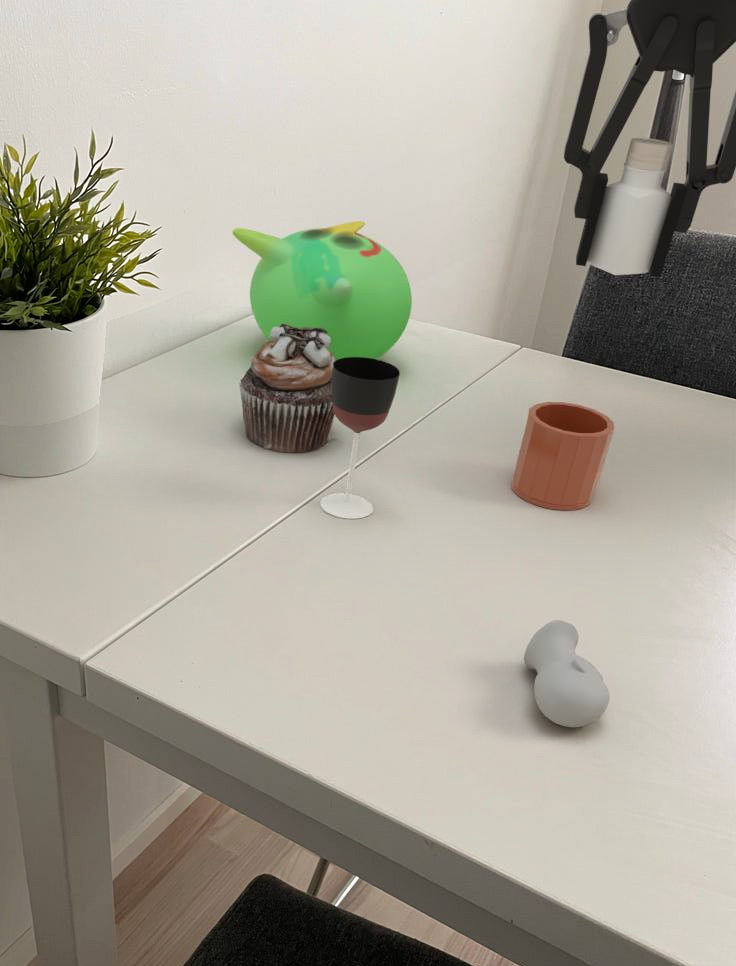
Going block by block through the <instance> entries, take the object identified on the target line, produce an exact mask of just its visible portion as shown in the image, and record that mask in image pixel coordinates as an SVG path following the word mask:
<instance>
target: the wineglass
mask: <svg viewBox="0 0 736 966" xmlns="http://www.w3.org/2000/svg"><path fill="white" fill-rule="evenodd" d="M400 375H401V371H400V369H399V368H398V367H397V366H395V365H393V364H392V363H389V362H387V361H384V360H380V359H378V358H377V359H371V358H364V357H347V358H341V359H338V360H336V361H335V362H334V363H333V372H332V402H333V410H334V414H335V415H334V417H335V418H336V419H337V420H338V421H339V422H340V423H341V424H342V425H343V426H345V427H347V428H349V430H351V431H353V438H352V439H353V441H352V445H351V453H350V460H349V467H348V474H347V480H346V488H345V493H343V492H342V493H341V492H340V493H339V492H338V493H337V492H335V493H330V494H327V495H325V496H323V497H322V498H321V499H320V502H319V505H320V508H321V509H322V510H323V511H324V512H325V513H327V514H329V515H331V516H334V517H337V518H341V519H347V520H348V519H350V520H352V519H353V520H354V519H356V520H357V519H361V518H366V517H368V516H369V515H371V514H372V513H373V512H374V511H373V510H374V506H373V505H372V503H371V502H370V501H368V499H366V498H364V497H362V496H359V495H356V494H352V490H353V482H354V476H355V469H356V463H357V455H358V449H359V443H360V442H359V441H360V437H361V436H360V435H361V433H362V432H365V431H371V430H373V429H375V428H378V427H379V426H381V425H382V424H383V423H384V422H385V421H386V419H387V417H388V415H389V412H390V410H391V408H392V405H393V402H394V399H395V395H396V392H397V387H398V384H399V379H400Z"/></svg>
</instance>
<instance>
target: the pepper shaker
mask: <svg viewBox="0 0 736 966" xmlns="http://www.w3.org/2000/svg"><path fill="white" fill-rule="evenodd" d="M673 148H674V144H673V143H672V142H670V141H666V140H661V139H655V138H648V137H647V138H646V137H633V138H631V139H630V143H629V147H628V150H627V153H626V158H625V162H624V163H623V166H624V167H623V171H622V175H621V179H620V180H619V181H616V182H612V183H610V184H607V187H606V190H605V194H604V198H603V202H602V206H601V209H600V213H599V217H598V221H597V225H596V228H595V232H594V236H593V240H592V244H591V247H590V251H589V255H588V259H587V263H588V265H591V266H593V267H595V268H597V269H600V270H602V271H604V272H607V273H609V274H611V275H613V276H626V275H640V274H646V273H649V272H650V271H649V270H650V268H651V266H652V263H653V260H654V256H655V253H656V250H657V246H658V243H659V240H660V236H661V233H662V230H663V226H664V223H665V220H666V216H667V213H668V210H669V206H670V203H671V199H672V197H671V196H670V194H671V193H669V191H667V190H666V189H664V188H663V187H662V182H663V180H664V176H665V174H666V172H667V171H668V166H669V162H670V159H671V154H672V153H673Z"/></svg>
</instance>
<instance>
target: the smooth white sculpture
mask: <svg viewBox="0 0 736 966" xmlns="http://www.w3.org/2000/svg"><path fill="white" fill-rule="evenodd" d="M578 643H579V632H578V630H577V628H576V627H575V625H573V624H572V623H570V622H567V621H564V620H561V619H555V620H552V621H550V622H547V623H546V624H545V625H543V626H542V627H540V629H538V630H537V631H536V632H535V633H534V634H533V636H532V637H531V639H530V640H529V642H528V644H527V645H526V648H525V651H524V654H523V655H524V656H523V663H524V665H525V667H526V668H527V669H529V670H531V671H536V673H537V674H536V676H535V680H534V686H533V690H534V691H533V692H534V698H535V702H536V704H537V707H538V708H539V710H540V712H541V713H542V714H543V715H544V716H545V717H546V718H547V719H548V720H550V721H551V722H553V723H554V724H557V725H558V726H562V727H566V728H583V727H587V726H589V725H591V724H593V723H594V722H596V721H597V720H598V719H599V718H600V717H601V716H602V715H604V713H605V712H606V710H607V708H608V706H609V702H610V691H609V688H608V686H607V685H606V683H605V682H604V678H603V675H602V673H601V672H600V671H599V669H598V668H596V667H595V666H594V664H592V663H591V662H590V661H588V660H587V659H586V658H584V657H582V656H580V655H578V654H576V648H577V646H578Z"/></svg>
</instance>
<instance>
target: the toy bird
mask: <svg viewBox="0 0 736 966" xmlns="http://www.w3.org/2000/svg"><path fill="white" fill-rule="evenodd" d="M365 225H366V222H365V221H350V222H345V223H340V224H336V225H333V226H328V227H317V228H309V229H305V230H299V231H296V232H293V233H291V234H289V235H287V236H285V237H283V238H280V237H277V236H273V235H270V234H266V233H263V232H259V231H256V230H251V229H248V228H241V227H238V228H234V229H233V230H232V235H233V236H234V238H236V239H237V241H239V242H240V243H241V244H243V245H244V246H245V247H246V248H248V249H249V250H251V251H252V252H253V253H255V254H256V255H258V256H259V257H260V259H259V261H258V263H257V264H256V266H255V269H254V271H253V274H252V278H251V281H250V287H249V299H250V308H251V311H252V314H253V318H254V320H255V322H256V324H257V326H258V327H259V329H260V330H261V332H262V334H263V335H264V336H265V337H266V338H267V339H268V341H269V342H271V339H270V333H271V330H272V328H273V327H280V325H281V324H287V325H289V326H291V327H294V328H303V327H308V328H322V329H325V330H327V335H328V336H329V337H330V338H331V342H330V346H329V350H328V351H330V352H331V353H332V354H333V355H334V356H335V358H336V360H338V359H341V358H347V357H364V358H371V359H377V360H378V358H380V357H382V356H384V354H386V353H387V352H389V351H390V350H391V349H392V348H393V347H394V346H395V345H396V344H397V342H398V341H399V339H400V338H401V337H402V335H403V333H404V332H405V330H406V328H407V325H408V324H409V321H410V316H411V312H412V306H413V302H412V301H413V298H412V297H413V296H412V290H411V285H410V281H409V278H408V276H407V273H406V272H405V269H404V268H403V266H402V265H401V263H400V262H399V260H398V259H397V258H396V257H395V256H394V254H392V252H390V251H389V250H388V249H387V248H386V247H385V246H384V245H382V244H380V243H379V242H378V241H375V240H374V239H372V238H371V237H368V236H366V235H364V234H361V233H359V232H358V231H360V230H361V229H362V228H363V227H364V226H365Z"/></svg>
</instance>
